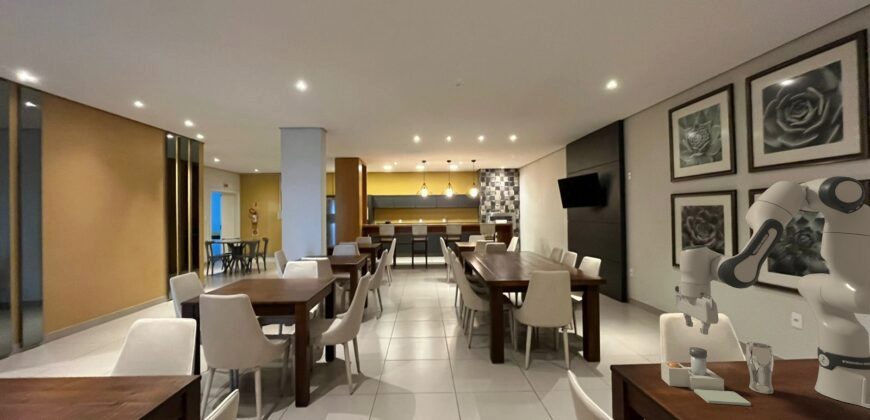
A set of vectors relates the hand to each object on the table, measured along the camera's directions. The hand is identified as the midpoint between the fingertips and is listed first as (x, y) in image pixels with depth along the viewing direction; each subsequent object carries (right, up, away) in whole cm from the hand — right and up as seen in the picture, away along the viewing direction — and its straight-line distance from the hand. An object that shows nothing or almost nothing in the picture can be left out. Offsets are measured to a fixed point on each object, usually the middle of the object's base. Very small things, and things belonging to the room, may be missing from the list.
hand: (696, 330), depth 127 cm
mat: (0, -18, -11) cm, 22 cm away
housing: (-3, -19, 0) cm, 19 cm away
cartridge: (0, -19, -1) cm, 19 cm away
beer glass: (+18, -19, -6) cm, 26 cm away
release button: (-8, -16, 0) cm, 18 cm away
